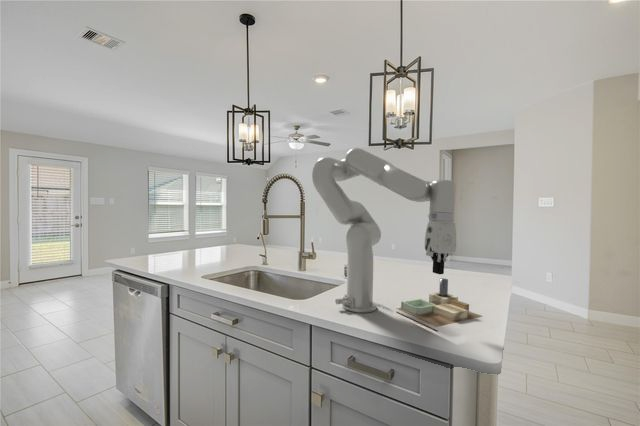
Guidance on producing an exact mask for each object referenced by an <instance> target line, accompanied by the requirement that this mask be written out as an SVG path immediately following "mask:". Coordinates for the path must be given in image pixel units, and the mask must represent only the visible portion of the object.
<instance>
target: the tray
mask: <svg viewBox="0 0 640 426" xmlns="http://www.w3.org/2000/svg"><path fill="white" fill-rule="evenodd" d="M433 306H436V304H433V303H430V302H429V300H428V301H427V300H426V299H425V300H424V299H422V298H417V299H411V300H410V299H409V300H403V301H401V304H400V308H401V309H403V310H405V311H407V312H410V313H412V314H414V315H416V316H419V315H424V314H429V313H433Z"/></svg>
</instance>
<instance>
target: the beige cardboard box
mask: <svg viewBox="0 0 640 426" xmlns="http://www.w3.org/2000/svg"><path fill="white" fill-rule="evenodd" d="M433 313H434V314H437V315H439V316H442V317H444V318H447V319H449V320H451V321H456V320H460V319H465V318H467V316H468V310H465V309H462V308H459V307H457V306H454V305H451V304H448V303H447V304H441V305H436V306H433Z"/></svg>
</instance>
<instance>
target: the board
mask: <svg viewBox="0 0 640 426" xmlns="http://www.w3.org/2000/svg"><path fill="white" fill-rule="evenodd" d="M450 304H451V305H454V306H457V307H459V308H462V309H465V310H468V316H467V318H465V319H460V320H456V321H451V320H449V319H447V318H444V317H442V316H439V315H437V314H434V313H429V314H424V315H419V316H416V315H414V314H412V313H410V312H407V311H405V310H403V309H401V307H397V308H396V310H399V311H401V312H404V313H405V314H408V315H409V316H412V317H414V318H416V319H419V320H421V321H422V322H425V323H427V324H429V325H432V326H434V327H436V328H437V327H442V326H447V325H450V324H455V323H460V322H463V321H468V320H473V319H478V318H482V317H483V315H480V314H478V313H475V312H472V311H470V304H469V303H466V302H463V301H460V300H458V301H457V300H454V299H453V300H450ZM399 311H396V314H398V315H401V316H403V317H405V318H407V319H408V320H411V321H413V322H416V323H417V324H420V325H421V326H423V327H426V328H428V329H430V330H433V331H435V332H438V330H437V329H435V328H433V327H431V326H429V325H426V324H424V323H422V322H420V321H418V320H416V319H414V318H412V317H409V316H407V315H405V314H403V313H401V312H399Z"/></svg>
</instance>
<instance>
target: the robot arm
mask: <svg viewBox="0 0 640 426" xmlns="http://www.w3.org/2000/svg"><path fill="white" fill-rule="evenodd" d="M359 176H363V177H365V178H367V179H369V180H370V181H371V182H372V181H373V182H374V183H377V184H378V185H380V186H382V187H384V188H386V189H387V190H390V191H392V192H394V193H395V194H397V195H398V196H401V197H403V198H405V199H407V200H409V201H412V202H416V203H419V202H420V203H423V202H429V213H428V215H427V217H428V221H427V225H426V229H425V236H424V250H425V251H426V252H425V255H426V257H430V258H431V261H432V273H434V274H435V275H444V274H445V273H444V272H445V263H446V261H447V258H448V257H449V256H452V254H453V253H454V252H456V250H457V228H456V223H455V222H454V221H455V219H454V218H455V201H456V182H455V181H453V180H451V179H450V180H448V179H436V180H433V181H428V180H424V179H422V178H419V177H417V176H415V175H413V174H411V173H408V172H406V171H405V170H402V169H401V168H398V167H396V166H395V165H394V164H392V163H391V162H389V161H388V160H386V159H383V158H381V157H379V156H377V155H375V154H373V153H371V152H369V151H366V150H364V149H362V148H359V147H353V148H351V149H350V150H348V151H347V152H346V153H345V157H344V159H341V160H339V159H336V158H333V157H331V156H329V157H328V156H327V157H320V158H319V159H318V160H317V161H315V164H314V166H313V169H312V172H311V179H312V183H313V186H314V188H315V190H316V191H317V193H318V195H319V196H320V197H321V199H322V200H323V202H324V203H325V205H326V207H327V208H328V209H329V211H330V212H331V214H332V215H333V217H334V218H335V220H336V221H337V223H339V225H340V224H341V225H344V226H347V225H349V226H350V227H349V229H348V230H347V233H346V236H345V240H346V241H345V242H346V247H347V248H346V249H347V281H346V283H347V285H346V287H347V288H346V292H347V293H346V294H344V297H342V298H336V299H335V304H336V305H342V307H343V309H344V310H347V311H349V312H353V313H359V314H361V313H365V314H366V313H372V312H375V311H376V310H377V307H378V306H377V303H375V302H373V300H374V299H373V295H374V290H373V289H374V251H373V246H375V245H377V244H378V243H379V242H380V240H381V237H382V231H381V229H380V227H379V225H378V223H377V222H376V221H375V219H374V218H373V217H372V215H371V214H370V212H369V211H368V210H367V208H366V207H365V206H364V204H362V203H361V202H358V201H356V200H351V199H350V198H349V197H348V195H347V194H346V192H345V191H344V189H343V188H342V187H341V186H340V185H339V184H338V183H337V182H343V181H346V180H349V179H353V178H355V177H356V178H357V177H359Z"/></svg>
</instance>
